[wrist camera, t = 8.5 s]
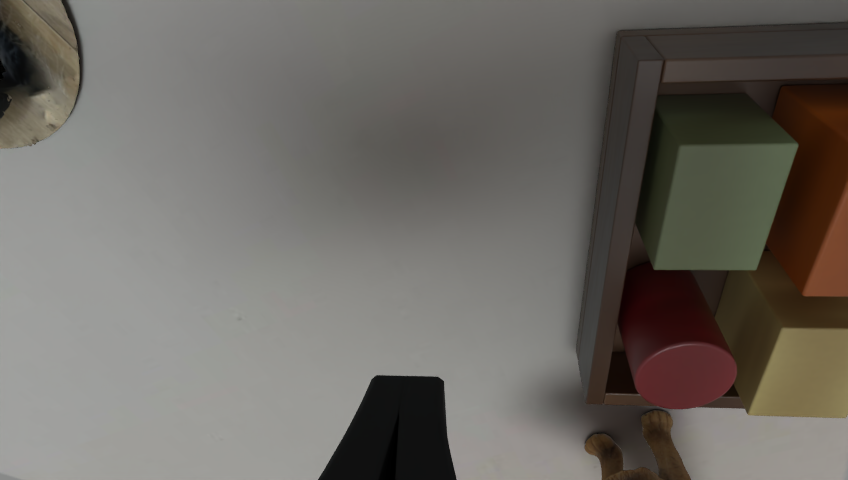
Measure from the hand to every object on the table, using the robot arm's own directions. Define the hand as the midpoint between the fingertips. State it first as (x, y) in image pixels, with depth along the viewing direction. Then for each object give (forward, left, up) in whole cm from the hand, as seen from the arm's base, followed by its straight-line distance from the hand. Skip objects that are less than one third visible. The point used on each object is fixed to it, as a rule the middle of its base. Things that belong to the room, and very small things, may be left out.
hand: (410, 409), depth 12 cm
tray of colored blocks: (-9, +1, -9) cm, 13 cm away
